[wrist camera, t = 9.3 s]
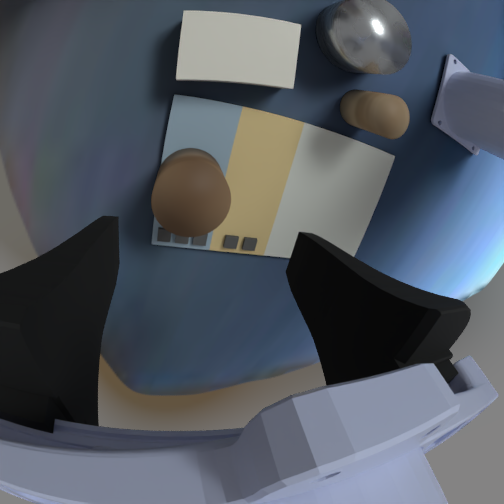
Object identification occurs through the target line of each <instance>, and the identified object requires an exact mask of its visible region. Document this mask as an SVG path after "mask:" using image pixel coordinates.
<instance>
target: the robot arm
mask: <svg viewBox="0 0 504 504" xmlns="http://www.w3.org/2000/svg"><path fill="white" fill-rule="evenodd" d="M438 121H439V123H438ZM431 122H432V124H433V125H434V126H436V127H437V128H439V129H440V130H442V131H443V132H445V133H446V134H448V135H449V136H450V137H452V138H453V139H454V140H456V141H457V142H458V143H460V144H461V145H462V146H464V147H465V148H466V149H468V150H469V151H470V152H471V153H473V154H474V155H478V153H479V150H480V149H483V150H485V151H487V152H489V153H491V154H493V155H495V156H497V157H499V158H501V159H503V160H504V80H502V79H498V78H494V77H490V76H485V75H481V74H476V73H471V72H470V71H469V70H468V69H467V68H466V67H465V66H464V65H463V64H462V63H461V62H460V61H459V60H458V59H457V58H455V57H454V56H453V55H452V54H448V55H447V57H446V62H445V67H444V71H443V76H442V80H441V84H440V88H439V92H438V96H437V99H436V103H435V107H434V110H433V114H432V117H431ZM119 263H120V262H119V232H118V217H114V216H102V217H100V218H98V219H97V220H95V221H94V222H92V223H91V224H90V225H88V226H87V227H85V228H84V229H82V230H81V231H80V232H78V233H77V234H75V235H74V236H72V237H71V238H69V239H68V240H66V241H65V242H63V243H62V244H60V245H59V246H57V247H55V248H54V249H52V250H50V251H49V252H47V253H45V254H43V255H41V256H39V257H37V258H36V259H34V260H31V261H29V262H27V263H25V264H22V265H20V266H18V267H16V268H14V269H11V270H8V271H6V272H3V273H0V490H2V491H5V492H7V493H9V494H12V495H14V496H17V497H19V498H22V499H25V500H27V501H30V502H33V503H36V504H448V502H447V500H446V497H445V495H444V493H443V491H442V489H441V487H440V485H439V483H438V481H437V479H436V477H435V475H434V473H433V471H432V469H431V467H430V465H429V463H428V461H427V459H426V457H425V455H424V454H425V453H427V452H428V451H430V450H431V449H433V448H435V447H436V446H438V445H439V444H441V443H442V442H444V441H445V440H447V439H448V438H449V437H451V436H452V435H454V434H455V433H457V432H458V431H459V430H461V429H462V428H463V427H464V426H466V425H467V424H468V423H469V422H471V421H472V420H473V419H474V418H475V417H477V415H479V414H480V413H481V412H482V411H483V410H484V409H485V408H487V407H488V406H489V405H490V404H491V403H492V402H493V401H494V400H495V399H496V398H497V397H498V393H497V392H496V390H495V389H494V387H493V386H492V385H491V383H490V382H489V380H488V379H487V377H486V376H485V374H484V373H483V372H482V370H481V369H480V368H479V366H478V365H477V363H475V361H474V359H473V358H472V357H471V356H468V357H465V358H463V359H461V360H459V361H457V362H456V363H455V364H452V363H451V362H450V360H449V359H451V358H452V356H453V354H452V353H451V352H450V350H449V349H450V348H451V346H452V345H453V344H454V343H455V341H456V340H457V339H458V337H459V336H460V335H461V333H462V332H463V330H464V329H465V327H466V326H467V324H468V322H469V319H470V315H471V313H470V309H469V308H468V306H467V305H466V304H465V303H464V302H462V301H460V300H458V299H453V298H449V297H445V296H441V295H437V294H434V293H430V292H427V291H424V290H421V289H418V288H415V287H413V286H410V285H408V284H405V283H403V282H400V281H398V280H396V279H394V278H391V277H389V276H387V275H385V274H383V273H381V272H379V271H377V270H376V269H374V268H372V267H370V266H368V265H367V264H365V263H363V262H361V261H360V260H358V259H356V258H355V257H353V256H351V255H350V254H348V253H347V252H345V251H343V250H342V249H340V248H339V247H337V246H335V245H334V244H332V243H330V242H329V241H327V240H325V239H323V238H322V237H320V236H318V235H316V234H313V233H307V232H299V233H298V236H297V239H296V242H295V245H294V248H293V251H292V255H291V258H290V261H289V264H288V267H287V270H286V275H287V278H288V282H289V285H290V289H291V292H292V294H293V296H294V298H295V300H296V303H297V305H298V307H299V309H300V311H301V313H302V315H303V317H304V320H305V322H306V324H307V326H308V328H309V330H310V332H311V335H312V337H313V340H314V343H315V346H316V349H317V352H318V355H319V358H320V362H321V365H322V369H323V373H324V376H325V381H326V385H327V386H322V387H318V388H315V389H312V390H308V391H305V392H301V393H298V394H293V395H290V396H288V397H286V398H284V399H282V400H280V401H278V402H276V403H274V404H272V405H270V406H268V407H265V408H264V409H262V410H261V411H260V412H259V413H258V414H257V415H256V416H255V417H254V418H253V419H252V420H250V421H249V423H248V424H247V425H246V426H245V428H236V429H224V430H206V431H148V430H130V429H119V428H109V427H101V426H99V425H98V374H99V373H98V372H99V359H100V349H101V340H102V335H103V329H104V325H105V322H106V318H107V314H108V310H109V307H110V303H111V300H112V296H113V293H114V289H115V286H116V281H117V275H118V269H119Z"/></svg>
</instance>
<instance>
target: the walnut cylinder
mask: <svg viewBox="0 0 504 504" xmlns="http://www.w3.org/2000/svg"><path fill="white" fill-rule="evenodd" d="M151 205H152V211H153V213H154V216H155V218H156V220H157V221H158V222H159V224H160V225H161V226H162V227H163V228H164V229H166V230H167V231H169V232H170V233H173V234H175V235H178V236H182V237H198V236H202V235H205V234H207V233H210V232H211V231H213V230H215V229H216V228H217V227H218V226H219V225H220V224H221V223H222V222H223V221H224V220H225V218H226V216H227V214H228V212H229V209H230V205H231V192H230V188H229V186H228V183H227V181H226V179H225V177H224V174H223V172H222V170H221V168H220V166H219V164H218V162H217V161H216V159H215V158H214V157H213V156H212V155H210V154H209V153H207V152H206V151H203V150H201V149H196V148H185V149H181V150H178V151H176V152H174V153H172V154H170V155H169V156H168V157H167V158H166V159H165V160H164V161H163V163H162V164H161V166H160V168H159V171H158V174H157V177H156V181H155V185H154V188H153V192H152V197H151Z"/></svg>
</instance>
